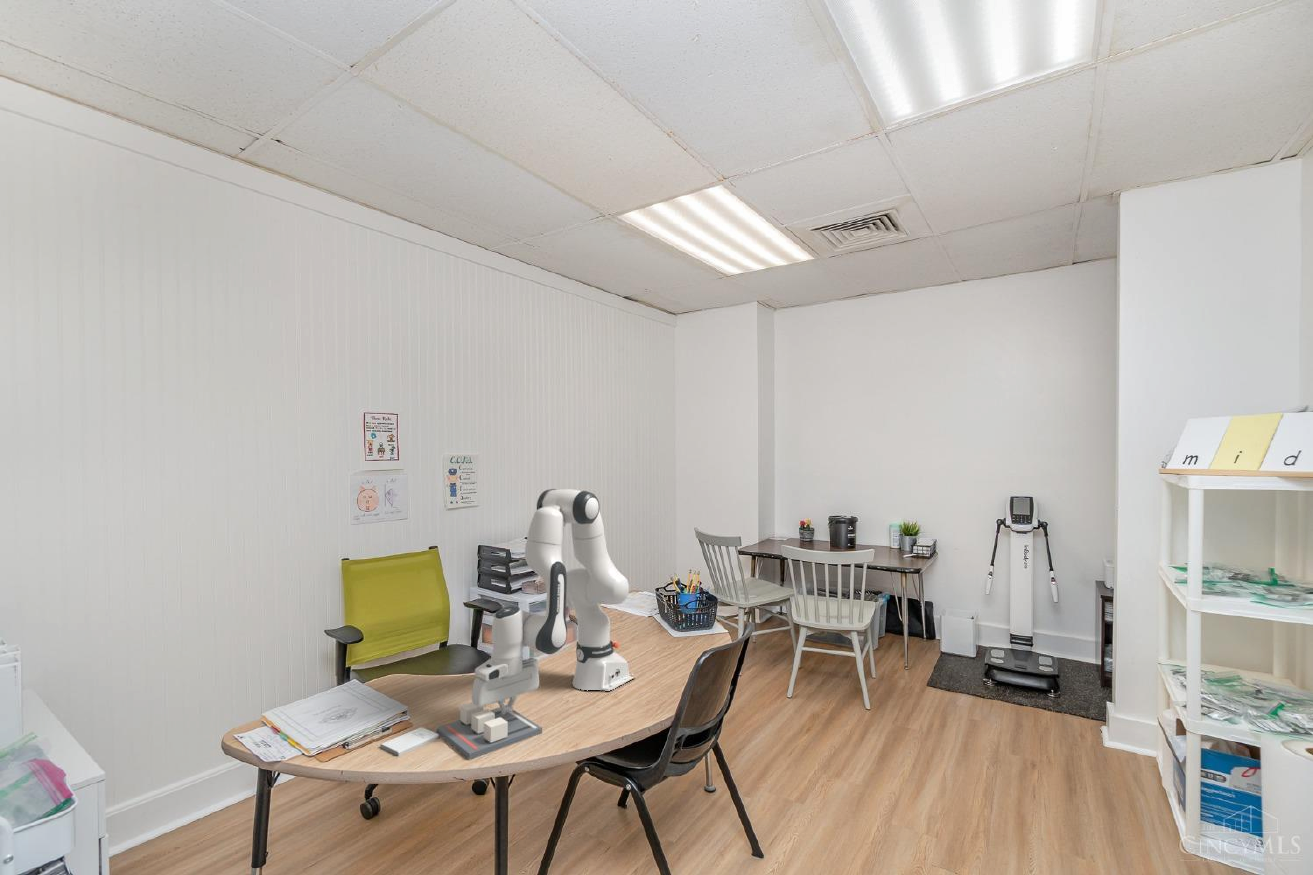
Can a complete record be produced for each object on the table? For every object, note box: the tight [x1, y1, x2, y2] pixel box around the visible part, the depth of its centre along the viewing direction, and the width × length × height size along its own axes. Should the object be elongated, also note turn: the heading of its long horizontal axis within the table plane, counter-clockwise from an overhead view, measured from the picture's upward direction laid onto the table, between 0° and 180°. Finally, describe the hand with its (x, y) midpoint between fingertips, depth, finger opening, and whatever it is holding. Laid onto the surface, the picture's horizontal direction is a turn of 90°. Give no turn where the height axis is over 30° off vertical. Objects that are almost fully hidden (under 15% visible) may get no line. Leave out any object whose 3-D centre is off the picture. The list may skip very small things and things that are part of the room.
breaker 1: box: [459, 702, 484, 725], centre depth 173 cm, size 5×4×4 cm
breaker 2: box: [483, 717, 508, 743], centre depth 163 cm, size 5×4×4 cm
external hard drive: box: [379, 726, 440, 757], centre depth 163 cm, size 2×8×12 cm
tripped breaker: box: [471, 708, 495, 733], centre depth 168 cm, size 5×4×4 cm
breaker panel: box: [436, 706, 543, 761], centre depth 169 cm, size 22×20×2 cm
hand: (506, 712), depth 173 cm, fingers closed
